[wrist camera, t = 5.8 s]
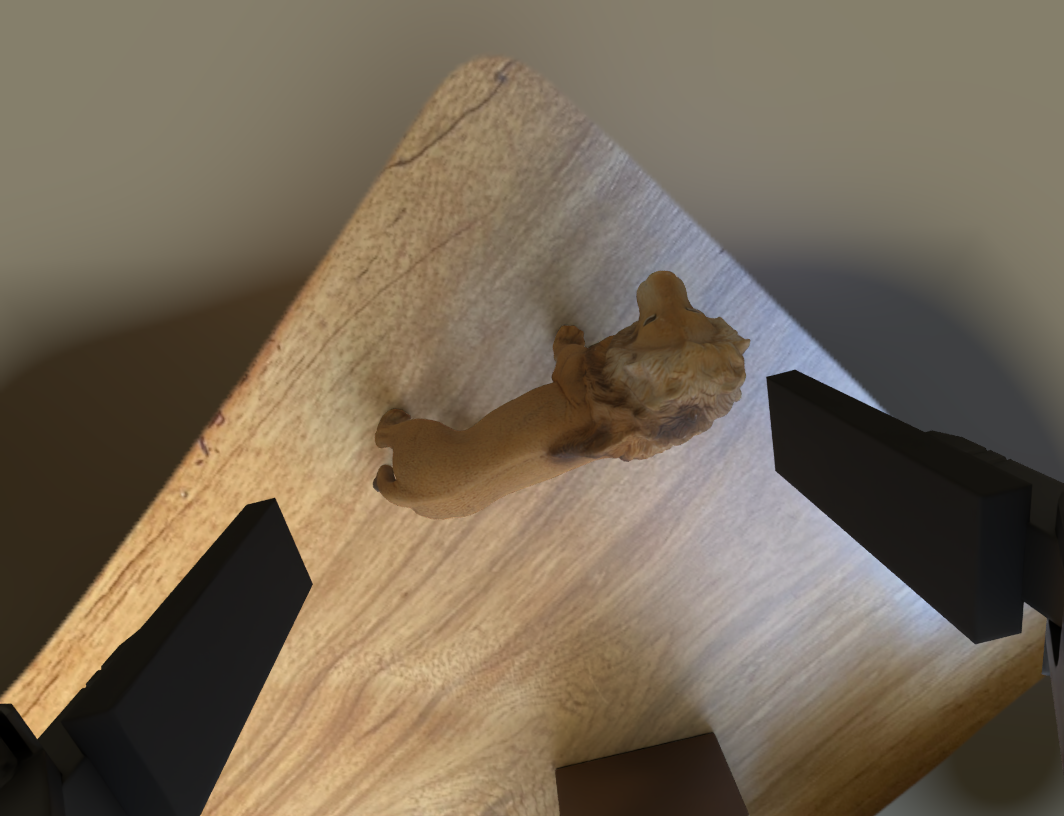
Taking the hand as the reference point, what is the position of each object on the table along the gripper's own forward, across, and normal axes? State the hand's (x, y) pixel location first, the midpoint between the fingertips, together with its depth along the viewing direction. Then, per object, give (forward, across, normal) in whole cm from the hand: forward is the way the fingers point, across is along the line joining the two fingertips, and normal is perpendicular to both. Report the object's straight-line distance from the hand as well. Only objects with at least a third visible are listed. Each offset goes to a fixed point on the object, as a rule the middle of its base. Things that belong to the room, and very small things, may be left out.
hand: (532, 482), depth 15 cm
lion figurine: (+10, 0, 0) cm, 10 cm away
